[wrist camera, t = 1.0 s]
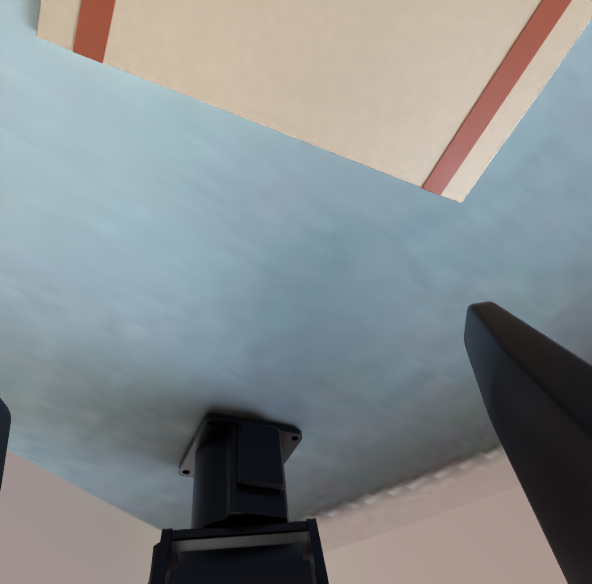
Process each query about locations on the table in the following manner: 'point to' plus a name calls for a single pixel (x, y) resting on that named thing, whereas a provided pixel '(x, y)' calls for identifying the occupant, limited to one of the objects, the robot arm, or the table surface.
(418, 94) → the napkin
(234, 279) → the table surface
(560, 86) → the table surface
